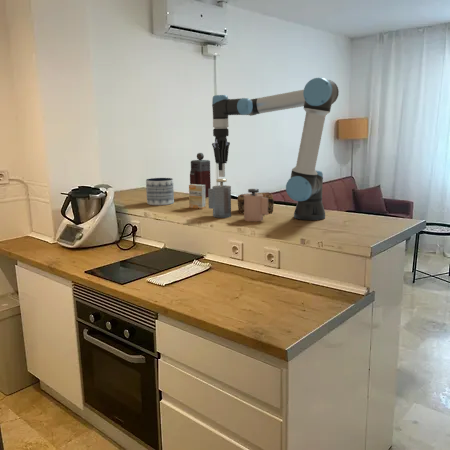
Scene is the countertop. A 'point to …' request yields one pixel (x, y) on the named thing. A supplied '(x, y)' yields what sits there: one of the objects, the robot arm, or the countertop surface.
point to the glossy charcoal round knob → (253, 191)
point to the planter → (160, 191)
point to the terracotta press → (255, 207)
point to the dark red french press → (200, 172)
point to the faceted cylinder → (220, 201)
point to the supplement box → (197, 196)
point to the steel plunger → (221, 181)
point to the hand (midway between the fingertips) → (221, 176)
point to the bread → (265, 195)
